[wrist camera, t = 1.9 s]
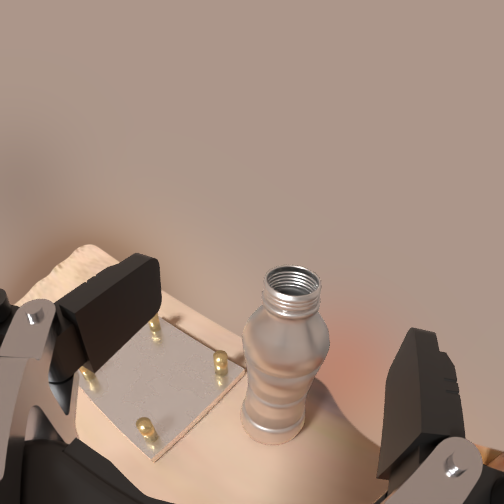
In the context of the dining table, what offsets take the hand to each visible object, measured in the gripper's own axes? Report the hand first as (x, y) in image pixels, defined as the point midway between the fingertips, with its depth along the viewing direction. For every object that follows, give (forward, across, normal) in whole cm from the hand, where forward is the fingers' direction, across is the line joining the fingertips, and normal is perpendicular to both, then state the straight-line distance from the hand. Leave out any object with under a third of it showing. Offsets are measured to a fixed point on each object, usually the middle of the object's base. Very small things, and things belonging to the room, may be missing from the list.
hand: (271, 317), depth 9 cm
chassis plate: (+12, +16, +25) cm, 32 cm away
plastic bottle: (+12, 0, +24) cm, 27 cm away
